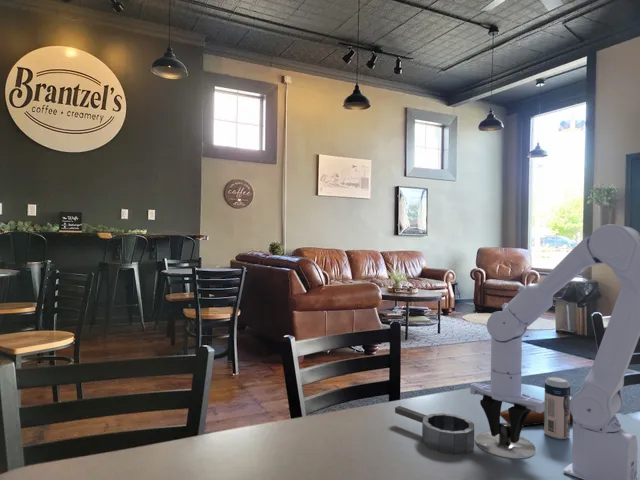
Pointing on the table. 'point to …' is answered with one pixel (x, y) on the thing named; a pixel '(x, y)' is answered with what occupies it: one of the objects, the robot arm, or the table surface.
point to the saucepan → (443, 431)
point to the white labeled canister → (557, 408)
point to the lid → (505, 444)
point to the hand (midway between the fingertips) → (504, 438)
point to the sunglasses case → (530, 417)
